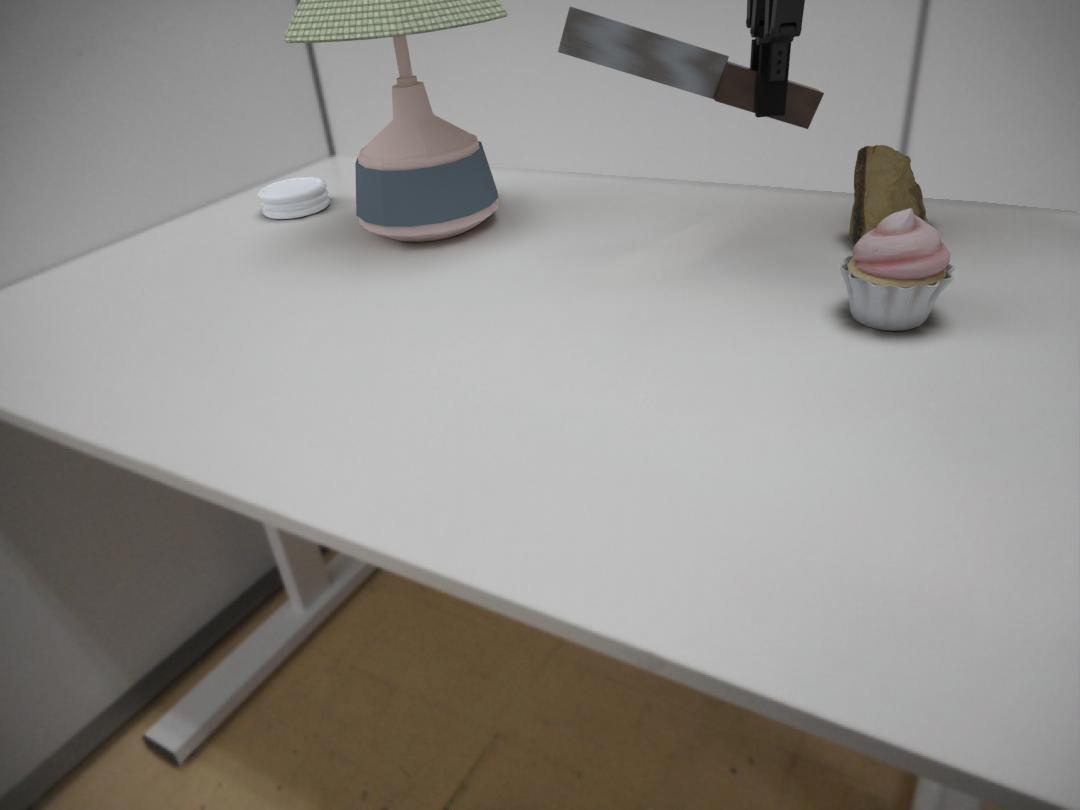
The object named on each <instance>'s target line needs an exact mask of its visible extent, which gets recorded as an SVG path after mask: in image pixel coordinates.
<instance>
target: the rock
mask: <svg viewBox="0 0 1080 810" xmlns="http://www.w3.org/2000/svg"><path fill="white" fill-rule="evenodd" d="M911 163H912V159H911V157H910V156H909V155H906V154H903V153H901V151H899V150H895V149H894V148H893V147H892V146H888V145H884V144H876V145H865V146H864V147H861V148H860V149H859V150H858V151H857V155H856V160H855V165H854V172H853V191H854V192H853V204H852V209H851V214H850V218H849V219H850V220H849V230H848V238H849V239H850V241H851V242H852V244H853V245H854V246H855V244H856V243H857V242H858V241H859V240H860V238H861V237H862V236H864V235H865V234H866V233H868V232H869V231H871V230H873V229H875V228H877V226H878V224H879V223H880V222H881V221H882V220H883V219H884V218H886V217H887V216H889V215H891V214H893V213H895V212H899V211H903V210H906V209H912V210H913V213H914V215H915V216H917V217H919V218H921V219H922V220H923V221H925V222H926V223H928V222H927V221H928V218H927V210H926V206H925V204H924V200H923V199H924V197H923V196H924V195H923V192H922V189H921V186H920V184H919V183H918V182H917V181H916V178H915V174H914V171H913V169H912V166H911Z"/></svg>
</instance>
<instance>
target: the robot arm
mask: <svg viewBox="0 0 1080 810" xmlns="http://www.w3.org/2000/svg"><path fill="white" fill-rule="evenodd" d="M805 3H806V0H746V19H745V25H746V28H747V29H749V34H750V37H751V43H750V44H751V46H750V59H749V60H750V62H749V68H751V69H755V70H758V82H757V97H756V112H755V113H754V117H756V118H769V116H780V115H785V108H786V97H787V85H788V80H789V72H790V64H791V63H790V61H791V50H792V43H793V42H794V39H795V38H797V37H800V36H801V33H802V30H803V29H802V27H803V20H804V19H803V18H804V12H805V11H804V10H805Z"/></svg>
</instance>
